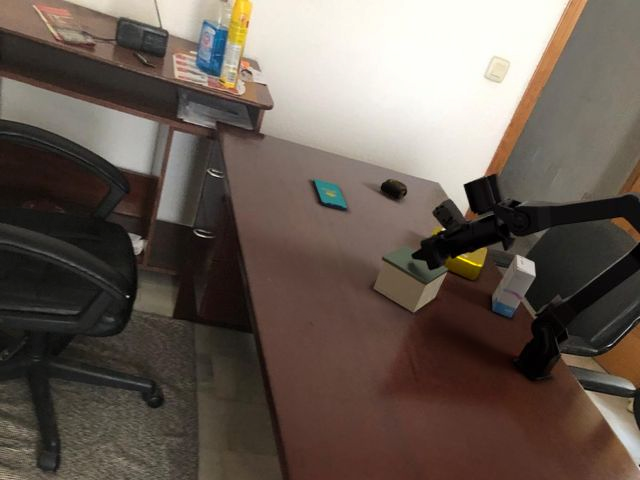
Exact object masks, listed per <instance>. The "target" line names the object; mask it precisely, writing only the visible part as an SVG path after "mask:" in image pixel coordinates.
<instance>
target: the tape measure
mask: <svg viewBox="0 0 640 480" xmlns="http://www.w3.org/2000/svg"><path fill="white" fill-rule="evenodd" d="M380 191H381V192H383V193H384V194H386V195H387V196H388V197H390V198H393V199H394V200H396V201H400V200H403V199H404V198H405V197H406V196H407V195H408V186H407V185H406V184H405V183H404V182H402V181H399V180H397V179H394V178H392V179H391V178H389V179H386V180H385V181H383V182H382V183H381V184H380Z"/></svg>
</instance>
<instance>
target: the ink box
mask: <svg viewBox="0 0 640 480" xmlns="http://www.w3.org/2000/svg"><path fill="white" fill-rule="evenodd" d="M536 275H537V274H536V265H535V262H534V261H533V260H530V259H528V258H526V257H524V256H523V255H522V256H521V255H519V254H515V256H514V257H513V259H512V261H511V263H510V265H509V266H508V268H507V270H506V272H505V273H504V274H503V277H502V279H501V280H500V282H499V283H498V285H497V287H496V289H495V290H494V292H493V294H492V298H491V299H492V301H491V303H492V304H491V305H492V309H491V311H492V312H493V313H494V312H495V313H497V314H499V315H502V316H504V317H507V318H509V319H511V318H512V316H513V315H514V313H515V312H516V310H517V309H518V307H519V305H520V304H521V302H522V300H523V298H524V296H525V295H526V293H527V291H528V290H529V288H530V287H531V285H532V283H533V282H534V280H535V278H536Z"/></svg>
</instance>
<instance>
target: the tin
mask: <svg viewBox="0 0 640 480" xmlns="http://www.w3.org/2000/svg"><path fill="white" fill-rule="evenodd" d="M447 273H448V271H447V272H446V273H445V274H443V275H442V276H440V277H438V278H437V279H435V280H434V281H432V282H431V283H429V284H428V285H424V284H423V283H421V282H419V281H417V280H416V279H414V278H412V277H411V276H409V275H407V274H406V273H404V272H402V271H400V270H399V269H397V268H395V267H394V266H392V265H390V264H388V263H387V262H385V261H383V264H382V266H381V269H380V271H379V274H378V275H377V279H376V281H375V284H374V285H373V290H375V291H377V292H378V293H380V294H381V295H383V296H385V297H387V298H388V299H390V300H391V301H393V302H395V303H396V304H398V305H399V306H401V307H403V308H405V309H407V310H408V311H410V312H411V313H413V314H414V313H415V312H417V311H418V310H419V309H421V308H422V307H424V306H425V305H427V304H428V303H430V302H432V301H433V300H434V299H435V298H436V296H437V294H438V292H439V290H440V288H441V286H442V284H443V282H444V279H445V277H446V276H447Z"/></svg>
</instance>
